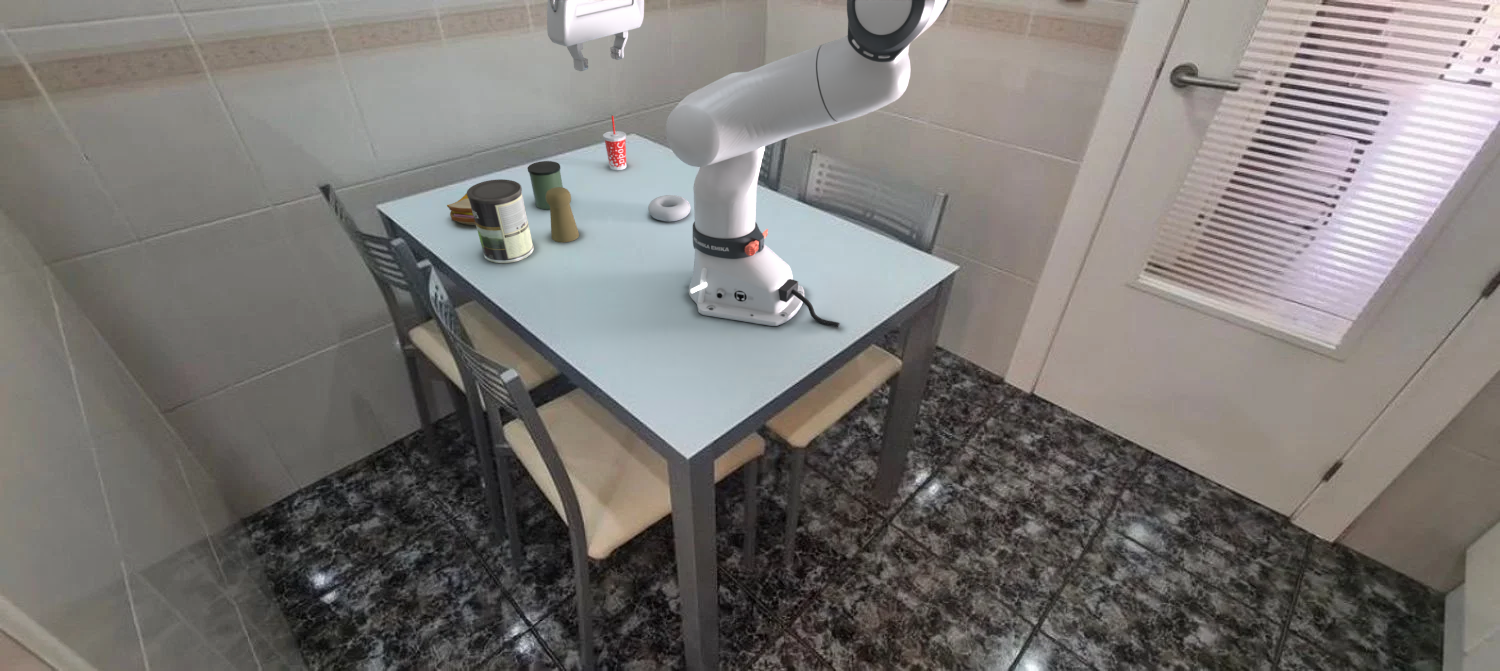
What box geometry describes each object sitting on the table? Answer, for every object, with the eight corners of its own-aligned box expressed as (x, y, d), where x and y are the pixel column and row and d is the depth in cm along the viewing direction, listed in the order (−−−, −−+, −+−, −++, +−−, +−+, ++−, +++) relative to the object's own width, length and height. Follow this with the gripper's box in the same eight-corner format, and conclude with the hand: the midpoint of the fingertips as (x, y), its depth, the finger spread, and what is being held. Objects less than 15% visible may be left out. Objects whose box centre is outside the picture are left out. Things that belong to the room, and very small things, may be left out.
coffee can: (482, 266, 125) (464, 202, 117) (484, 243, 133) (467, 181, 124) (535, 260, 128) (521, 196, 119) (534, 237, 135) (520, 176, 127)
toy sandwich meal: (519, 208, 147) (514, 189, 144) (481, 232, 137) (476, 213, 134) (476, 200, 150) (471, 181, 147) (436, 223, 140) (430, 204, 137)
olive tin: (572, 200, 151) (566, 164, 146) (552, 212, 146) (545, 175, 140) (548, 194, 154) (541, 158, 148) (528, 206, 148) (520, 169, 143)
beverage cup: (611, 172, 166) (604, 120, 157) (603, 165, 170) (597, 113, 162) (632, 169, 168) (627, 117, 160) (624, 161, 172) (619, 110, 164)
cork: (572, 244, 133) (563, 196, 127) (546, 240, 134) (537, 193, 128) (583, 231, 138) (576, 185, 132) (558, 228, 139) (550, 182, 133)
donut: (654, 227, 141) (696, 220, 144) (653, 213, 139) (695, 206, 142) (644, 209, 148) (684, 203, 151) (643, 196, 146) (683, 189, 149)
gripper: (565, -18, 87) (572, 82, 96) (650, -31, 102) (650, 57, 110) (532, -27, 89) (541, 72, 98) (620, -39, 104) (621, 48, 112)
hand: (599, 64), depth 104 cm, fingers open, 8 cm apart
